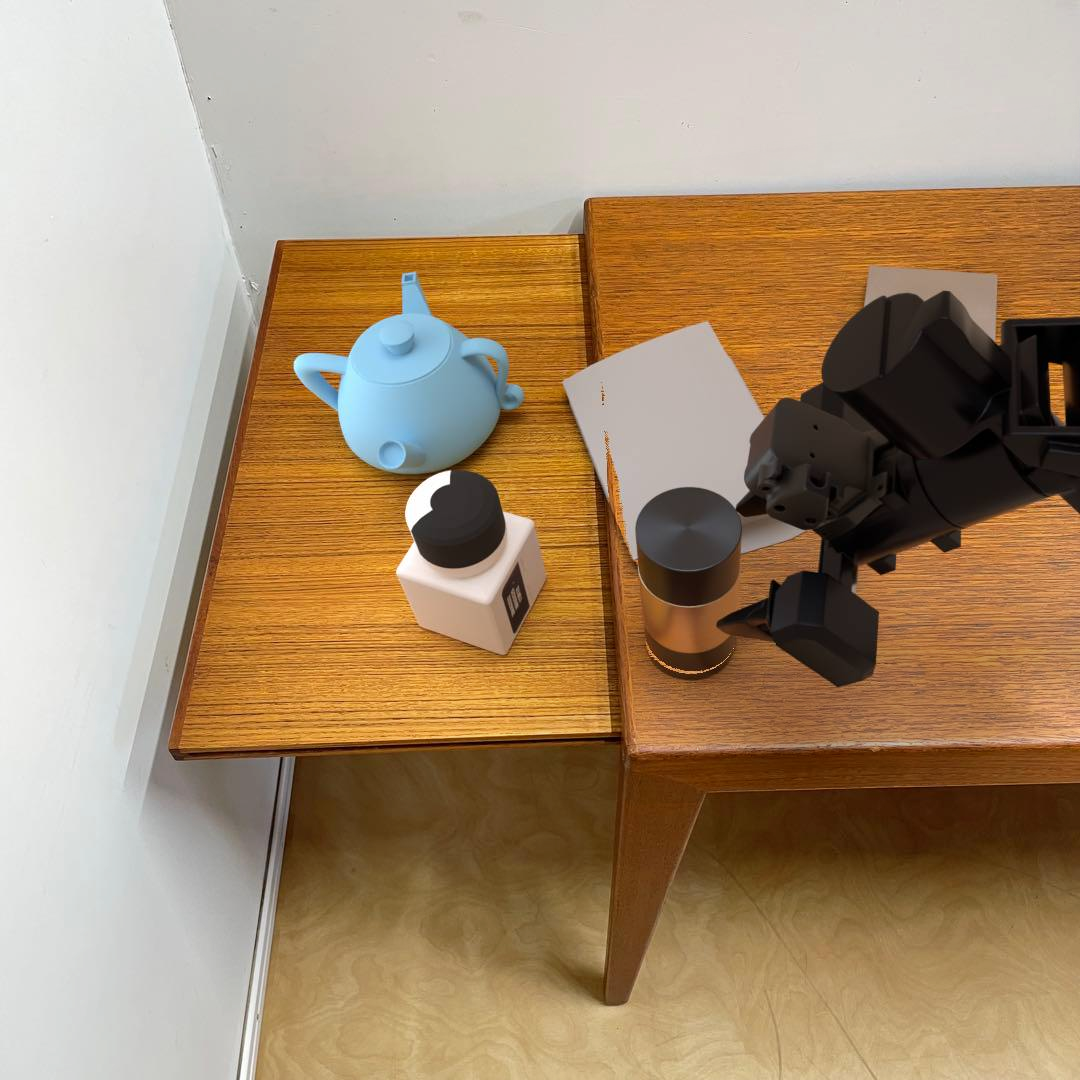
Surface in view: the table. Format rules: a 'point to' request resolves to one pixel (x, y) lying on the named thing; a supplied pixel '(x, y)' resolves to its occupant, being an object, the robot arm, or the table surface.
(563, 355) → the table surface
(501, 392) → the teapot
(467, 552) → the container
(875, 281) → the platform
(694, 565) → the can
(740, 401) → the book
